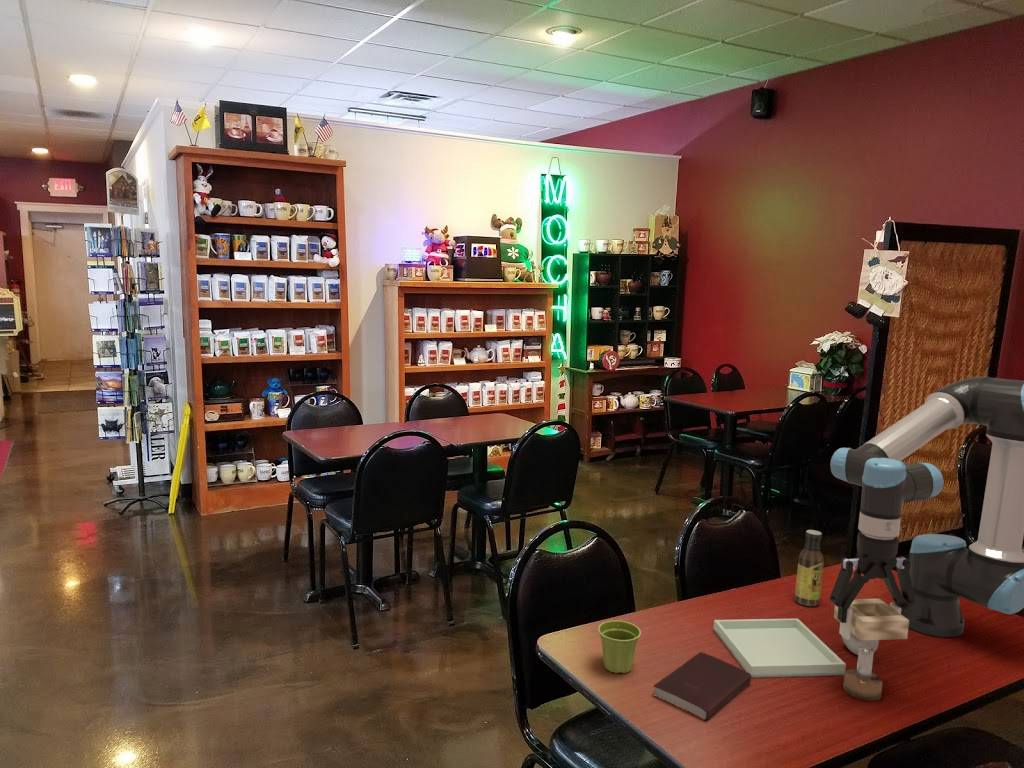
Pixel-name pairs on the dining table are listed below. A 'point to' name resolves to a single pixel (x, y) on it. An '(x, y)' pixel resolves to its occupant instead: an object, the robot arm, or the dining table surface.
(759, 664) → the sage tray
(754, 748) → the dining table surface
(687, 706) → the book
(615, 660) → the plant pot
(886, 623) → the wooden square frame
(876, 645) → the donut
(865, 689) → the cylinder
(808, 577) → the sauce bottle
